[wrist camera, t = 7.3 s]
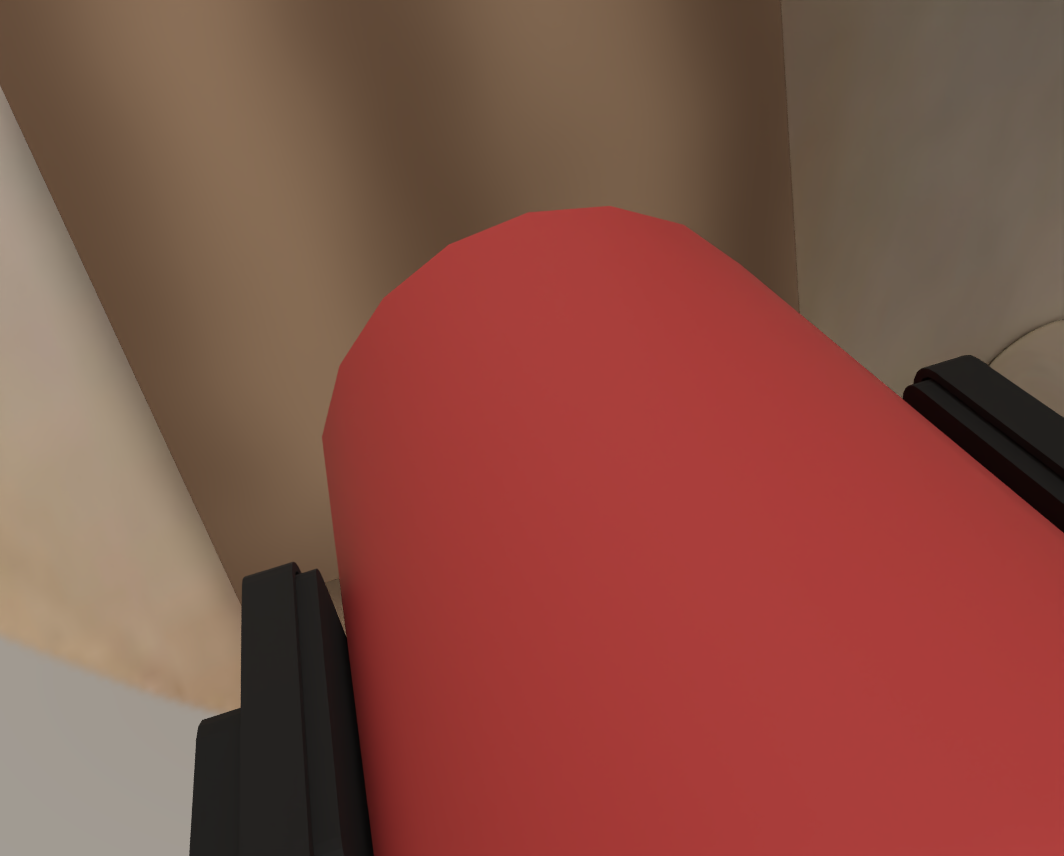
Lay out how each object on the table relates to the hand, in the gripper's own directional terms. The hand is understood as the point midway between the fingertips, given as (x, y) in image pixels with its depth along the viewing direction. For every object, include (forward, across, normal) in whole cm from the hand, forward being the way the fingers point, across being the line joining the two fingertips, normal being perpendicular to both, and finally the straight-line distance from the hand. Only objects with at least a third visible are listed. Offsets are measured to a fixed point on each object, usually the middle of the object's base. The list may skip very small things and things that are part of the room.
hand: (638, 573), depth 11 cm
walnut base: (+14, 0, 0) cm, 14 cm away
